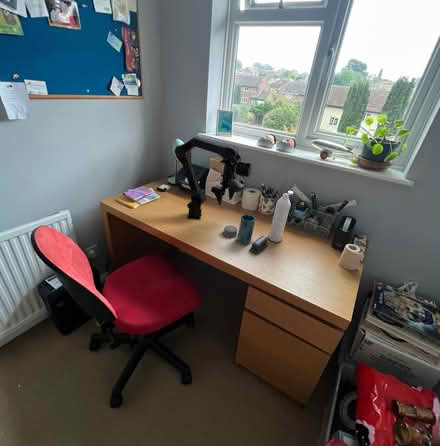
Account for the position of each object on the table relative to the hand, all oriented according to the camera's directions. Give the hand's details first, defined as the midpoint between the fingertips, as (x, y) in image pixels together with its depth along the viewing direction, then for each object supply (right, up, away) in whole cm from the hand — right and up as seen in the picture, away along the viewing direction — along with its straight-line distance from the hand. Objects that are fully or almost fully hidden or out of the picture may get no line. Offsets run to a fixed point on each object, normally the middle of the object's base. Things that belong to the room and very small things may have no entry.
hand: (225, 202), depth 127 cm
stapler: (+16, -23, -10) cm, 30 cm away
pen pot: (+9, -20, -6) cm, 23 cm away
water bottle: (+26, -19, 0) cm, 32 cm away
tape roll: (+3, -16, -1) cm, 17 cm away
